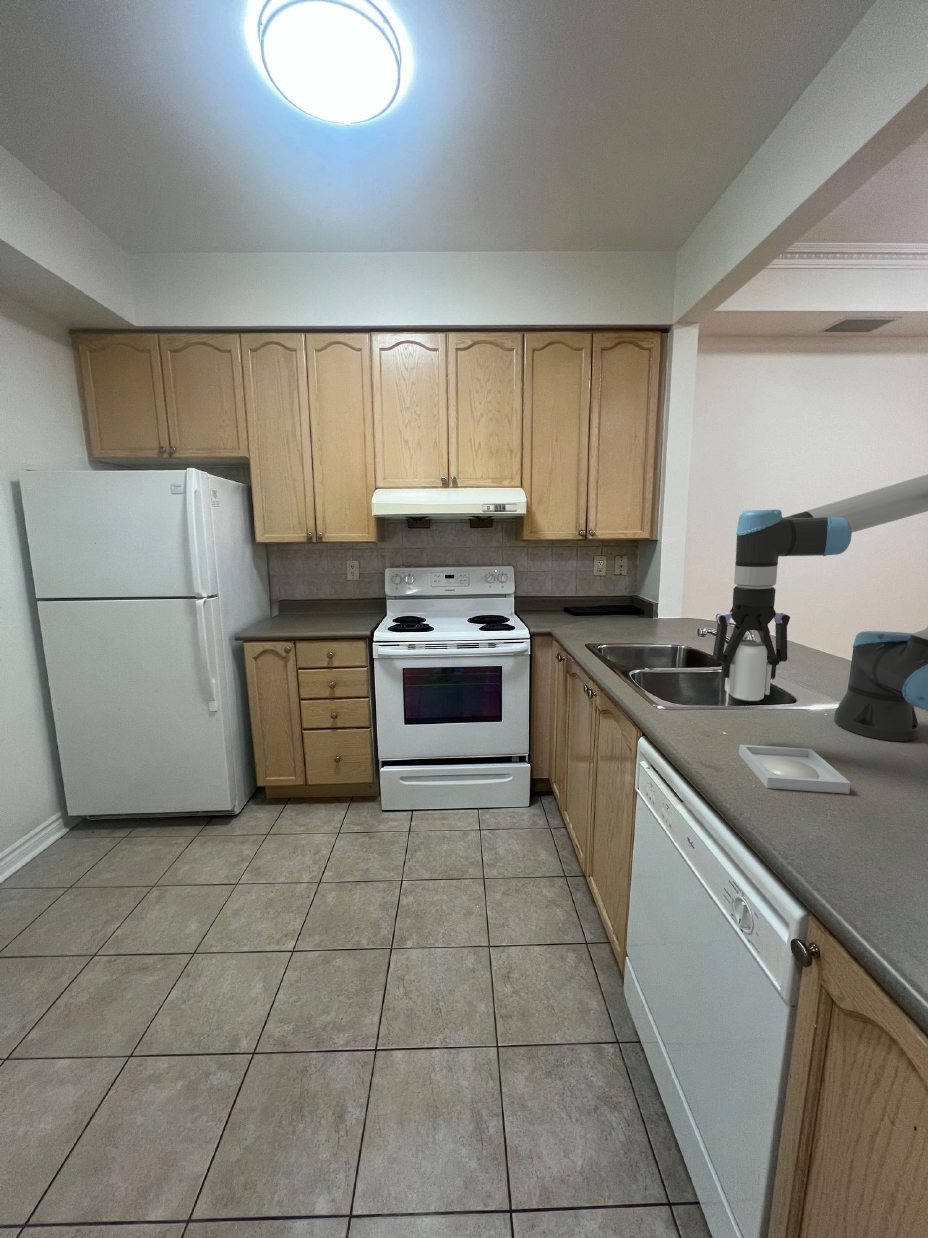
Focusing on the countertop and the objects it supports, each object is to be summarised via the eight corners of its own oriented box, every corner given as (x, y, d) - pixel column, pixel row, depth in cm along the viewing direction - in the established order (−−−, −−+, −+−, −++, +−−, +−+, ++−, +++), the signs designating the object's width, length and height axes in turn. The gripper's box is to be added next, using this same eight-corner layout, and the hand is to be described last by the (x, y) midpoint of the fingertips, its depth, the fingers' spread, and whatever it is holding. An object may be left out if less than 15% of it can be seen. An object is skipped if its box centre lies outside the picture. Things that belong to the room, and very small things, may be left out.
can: (732, 689, 110) (736, 637, 107) (766, 694, 106) (770, 641, 103) (726, 698, 105) (729, 644, 103) (761, 704, 101) (765, 647, 99)
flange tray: (809, 758, 100) (811, 748, 100) (849, 793, 87) (850, 783, 87) (738, 753, 103) (739, 744, 102) (766, 788, 90) (767, 777, 89)
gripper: (797, 582, 103) (787, 687, 107) (698, 584, 106) (693, 685, 110) (816, 587, 95) (805, 699, 100) (710, 589, 99) (704, 697, 103)
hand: (746, 691), depth 105 cm, fingers closed on can, 6 cm apart
